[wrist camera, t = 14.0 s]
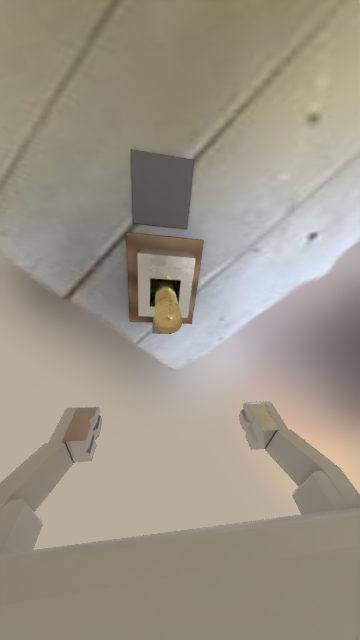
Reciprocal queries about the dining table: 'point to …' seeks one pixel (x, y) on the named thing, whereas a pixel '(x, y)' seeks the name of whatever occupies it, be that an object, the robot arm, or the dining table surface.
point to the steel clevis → (164, 267)
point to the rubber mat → (161, 189)
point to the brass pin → (166, 307)
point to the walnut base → (156, 242)
